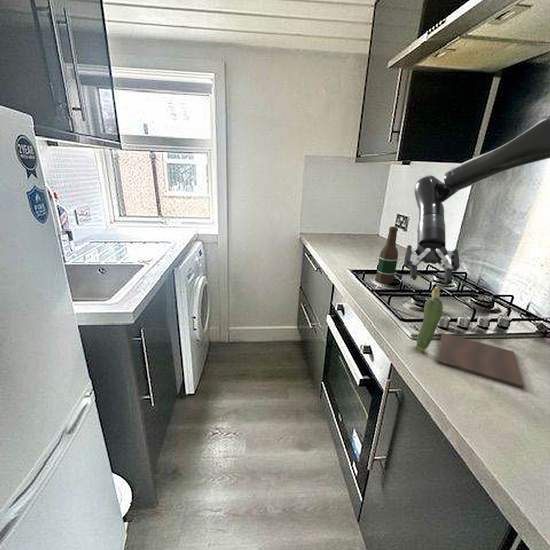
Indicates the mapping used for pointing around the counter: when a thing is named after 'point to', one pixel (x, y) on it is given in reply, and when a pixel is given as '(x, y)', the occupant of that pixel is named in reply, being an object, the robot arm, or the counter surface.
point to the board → (480, 359)
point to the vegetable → (430, 320)
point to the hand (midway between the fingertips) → (430, 281)
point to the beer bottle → (388, 259)
